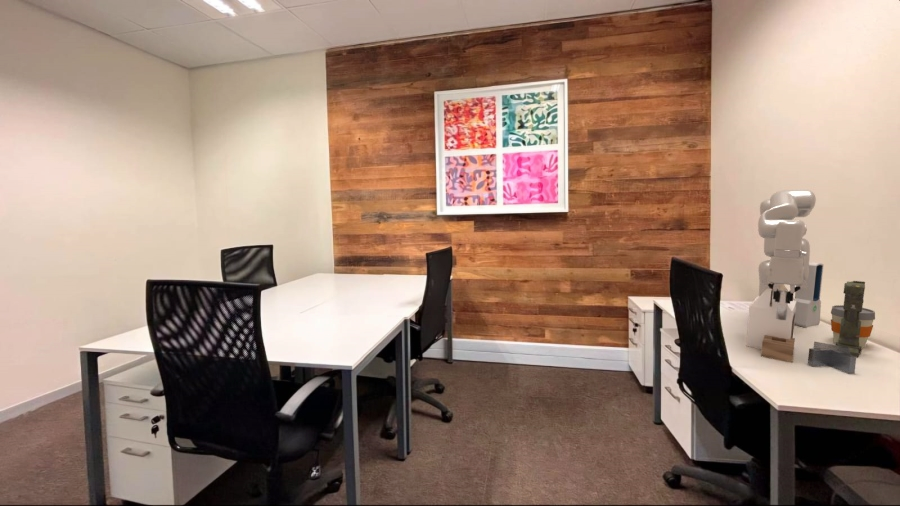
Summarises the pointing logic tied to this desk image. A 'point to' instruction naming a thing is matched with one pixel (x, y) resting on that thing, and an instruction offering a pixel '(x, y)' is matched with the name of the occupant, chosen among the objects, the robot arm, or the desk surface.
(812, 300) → the electronic device
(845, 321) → the mechanical leg
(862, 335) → the reusable coffee cup
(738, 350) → the desk surface
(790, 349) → the beam
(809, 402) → the desk surface
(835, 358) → the v block
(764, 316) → the gable box
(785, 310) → the axle
